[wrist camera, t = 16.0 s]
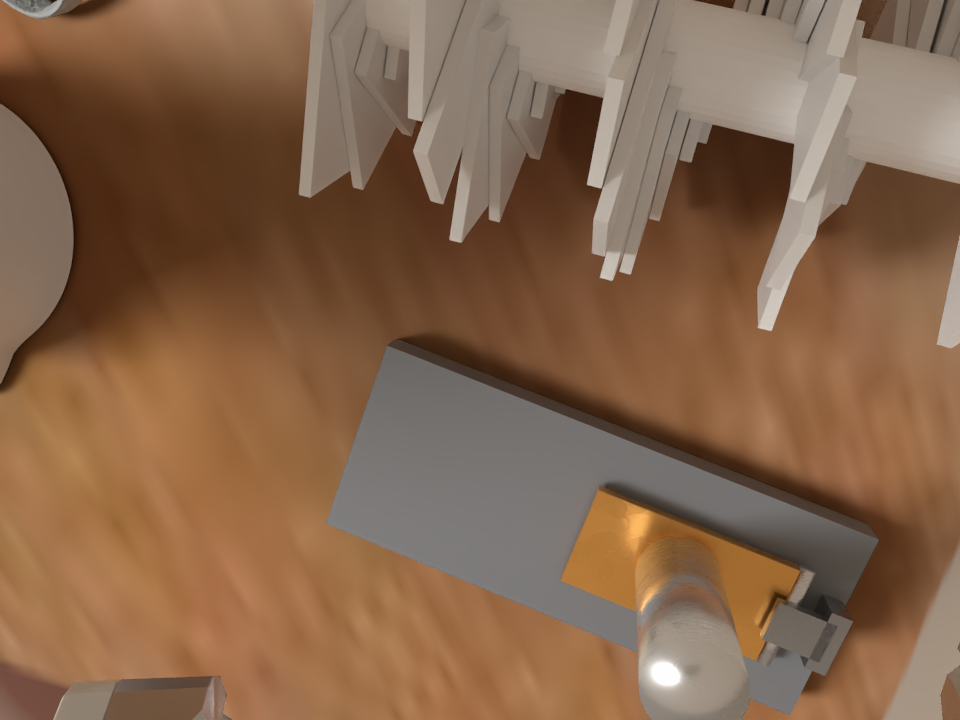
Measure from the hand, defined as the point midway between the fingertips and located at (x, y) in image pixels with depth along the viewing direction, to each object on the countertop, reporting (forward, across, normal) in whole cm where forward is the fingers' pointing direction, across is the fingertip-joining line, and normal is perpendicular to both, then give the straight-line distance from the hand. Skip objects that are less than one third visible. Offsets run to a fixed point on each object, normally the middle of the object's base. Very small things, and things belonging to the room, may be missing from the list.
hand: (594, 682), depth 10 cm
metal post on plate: (+24, -9, +24) cm, 35 cm away
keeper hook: (+23, -14, +26) cm, 37 cm away
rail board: (+28, -5, +24) cm, 37 cm away
